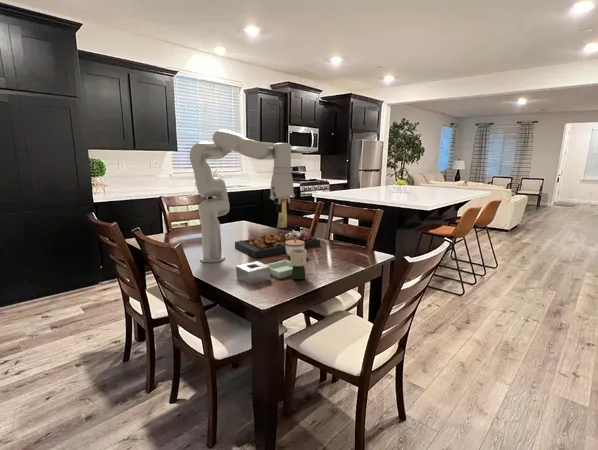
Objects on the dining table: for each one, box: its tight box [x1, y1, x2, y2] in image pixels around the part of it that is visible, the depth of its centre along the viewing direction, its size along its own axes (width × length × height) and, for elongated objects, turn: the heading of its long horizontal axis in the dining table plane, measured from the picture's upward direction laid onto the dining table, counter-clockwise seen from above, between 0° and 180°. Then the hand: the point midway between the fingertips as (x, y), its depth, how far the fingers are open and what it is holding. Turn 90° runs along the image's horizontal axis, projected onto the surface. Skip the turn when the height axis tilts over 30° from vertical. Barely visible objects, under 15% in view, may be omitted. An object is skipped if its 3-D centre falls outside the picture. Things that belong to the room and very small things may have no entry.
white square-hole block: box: [235, 260, 271, 286], centre depth 152 cm, size 10×11×6 cm
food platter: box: [234, 229, 321, 259], centre depth 206 cm, size 45×25×10 cm, turn 126°
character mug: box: [290, 249, 308, 280], centre depth 153 cm, size 11×7×13 cm, turn 26°
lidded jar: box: [285, 239, 305, 258], centre depth 187 cm, size 11×11×9 cm
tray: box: [265, 259, 293, 280], centre depth 162 cm, size 13×14×3 cm
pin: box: [278, 196, 288, 229], centre depth 157 cm, size 5×5×14 cm
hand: (282, 211), depth 157 cm, fingers closed on pin, 3 cm apart
